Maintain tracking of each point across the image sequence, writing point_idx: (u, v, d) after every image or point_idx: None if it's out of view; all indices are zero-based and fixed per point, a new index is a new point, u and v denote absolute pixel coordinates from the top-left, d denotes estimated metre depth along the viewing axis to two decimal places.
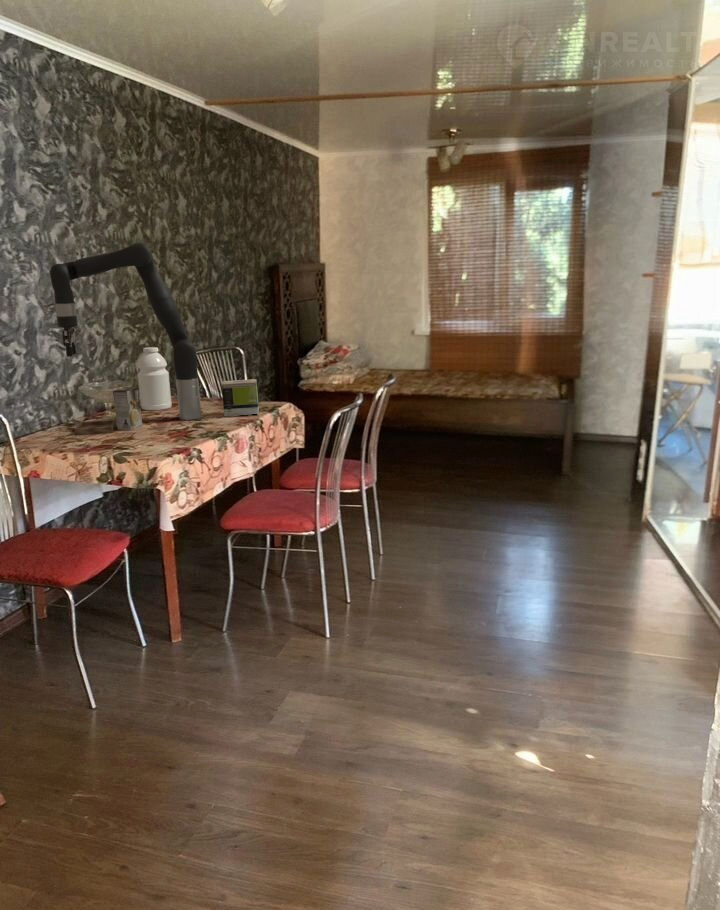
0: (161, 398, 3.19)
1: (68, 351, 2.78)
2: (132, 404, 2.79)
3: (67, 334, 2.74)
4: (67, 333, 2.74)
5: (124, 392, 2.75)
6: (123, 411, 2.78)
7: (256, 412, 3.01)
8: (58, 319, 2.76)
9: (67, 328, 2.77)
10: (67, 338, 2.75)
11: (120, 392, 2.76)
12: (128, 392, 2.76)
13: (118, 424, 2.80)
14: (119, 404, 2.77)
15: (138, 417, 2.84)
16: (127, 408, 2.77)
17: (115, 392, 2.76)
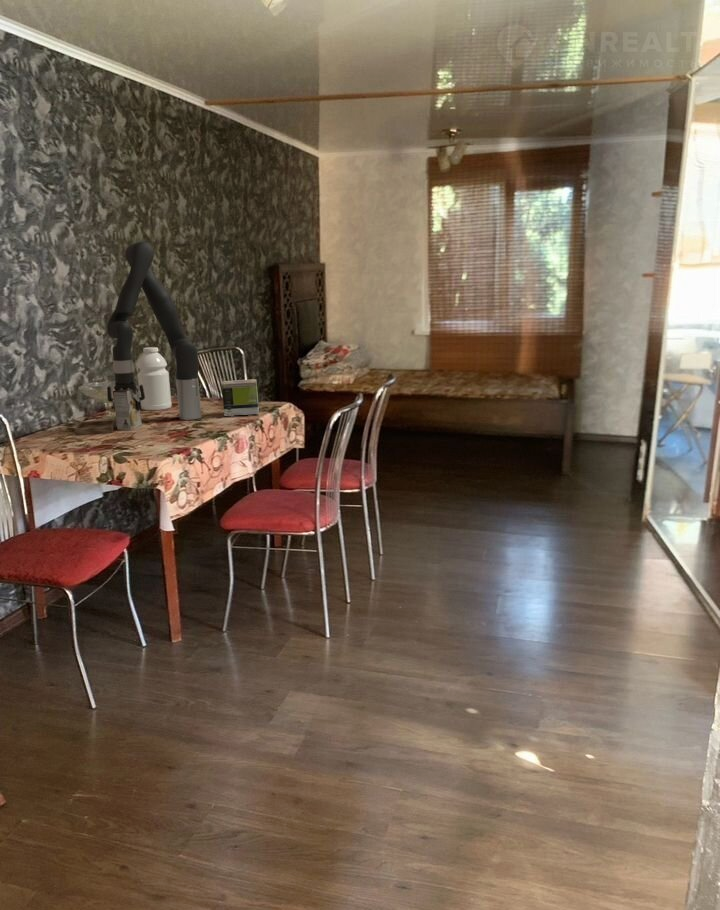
0: (161, 398, 3.19)
1: (140, 405, 2.83)
2: (132, 404, 2.79)
3: (143, 388, 2.82)
4: None
5: (124, 392, 2.75)
6: (123, 411, 2.78)
7: (256, 412, 3.01)
8: (129, 375, 2.76)
9: (134, 383, 2.80)
10: (143, 391, 2.82)
11: (120, 392, 2.76)
12: (128, 392, 2.76)
13: (118, 424, 2.79)
14: (119, 404, 2.77)
15: (138, 417, 2.84)
16: (127, 408, 2.77)
17: (115, 392, 2.76)
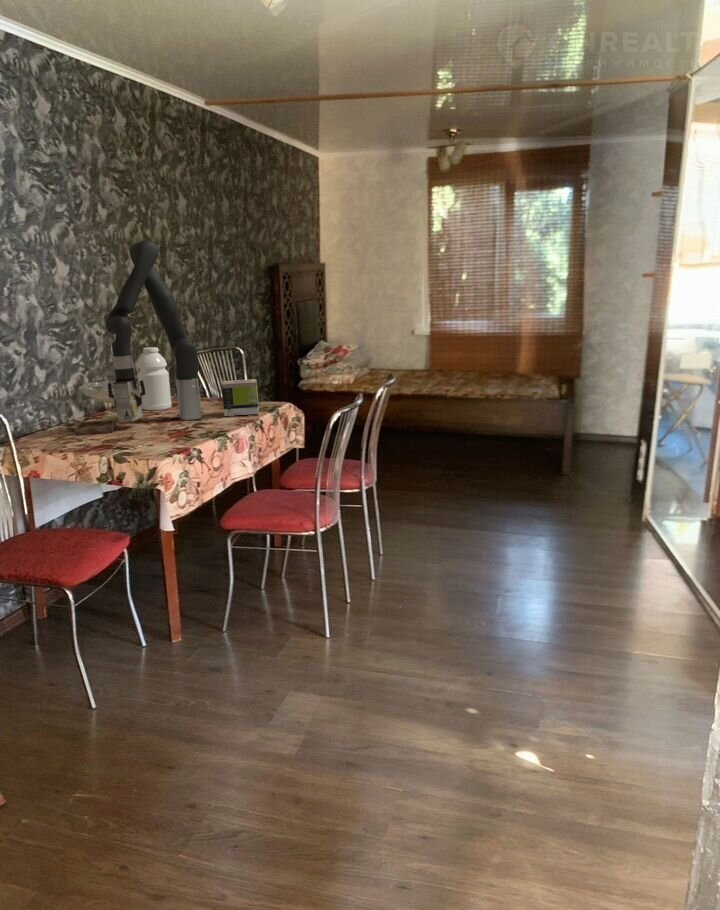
0: (161, 398, 3.19)
1: (141, 400, 2.82)
2: (132, 395, 2.78)
3: (143, 383, 2.81)
4: (143, 382, 2.81)
5: (125, 383, 2.74)
6: (124, 403, 2.77)
7: (256, 412, 3.01)
8: (130, 371, 2.75)
9: None
10: (144, 387, 2.81)
11: (120, 383, 2.75)
12: (128, 383, 2.75)
13: (119, 416, 2.79)
14: (120, 395, 2.76)
15: (139, 408, 2.84)
16: (128, 399, 2.76)
17: (115, 383, 2.75)
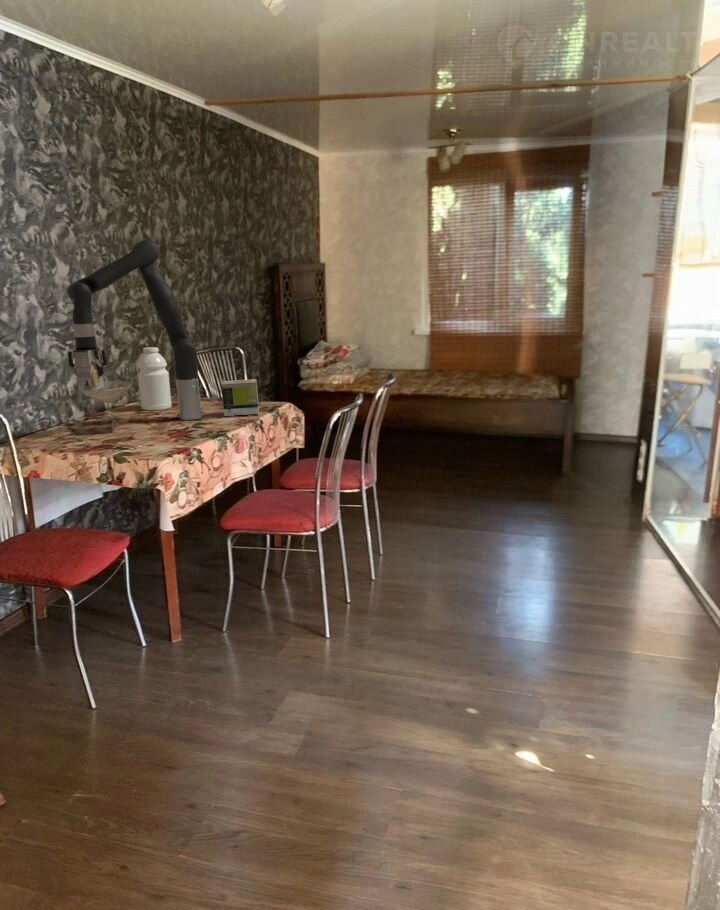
0: (161, 398, 3.19)
1: None
2: (93, 364, 2.71)
3: (105, 353, 2.74)
4: (105, 352, 2.74)
5: (85, 352, 2.67)
6: (84, 372, 2.70)
7: (256, 412, 3.01)
8: (90, 339, 2.69)
9: (96, 347, 2.73)
10: (106, 357, 2.75)
11: (80, 352, 2.68)
12: (89, 352, 2.68)
13: (79, 385, 2.72)
14: (80, 364, 2.69)
15: (100, 378, 2.77)
16: (88, 368, 2.69)
17: (75, 352, 2.68)
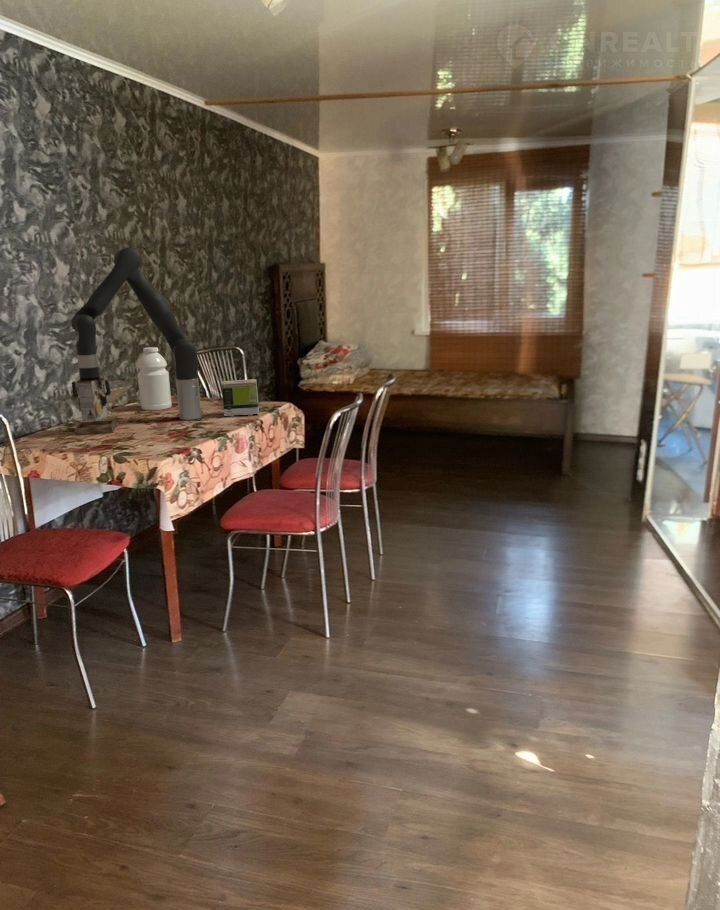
0: (161, 398, 3.19)
1: (106, 400, 2.78)
2: (97, 394, 2.74)
3: None
4: (108, 382, 2.77)
5: (88, 382, 2.71)
6: (88, 402, 2.73)
7: (256, 412, 3.01)
8: (94, 370, 2.72)
9: None
10: (109, 387, 2.78)
11: (84, 382, 2.71)
12: (92, 382, 2.71)
13: (83, 415, 2.75)
14: (83, 394, 2.72)
15: (104, 408, 2.80)
16: (92, 399, 2.72)
17: (79, 382, 2.71)
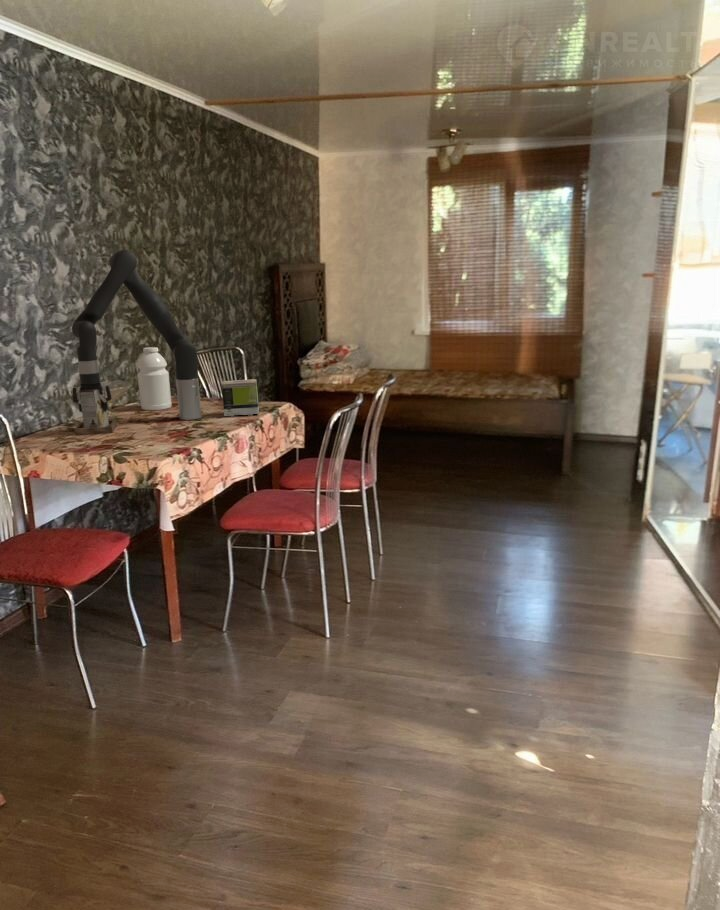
0: (161, 398, 3.19)
1: (107, 405, 2.79)
2: (99, 403, 2.76)
3: (109, 388, 2.78)
4: (109, 387, 2.78)
5: (91, 392, 2.72)
6: (90, 411, 2.74)
7: (256, 412, 3.01)
8: (95, 376, 2.72)
9: (100, 383, 2.77)
10: (110, 392, 2.78)
11: (87, 392, 2.72)
12: (95, 391, 2.73)
13: (85, 424, 2.76)
14: (86, 404, 2.73)
15: (105, 417, 2.81)
16: (95, 408, 2.73)
17: (81, 392, 2.72)
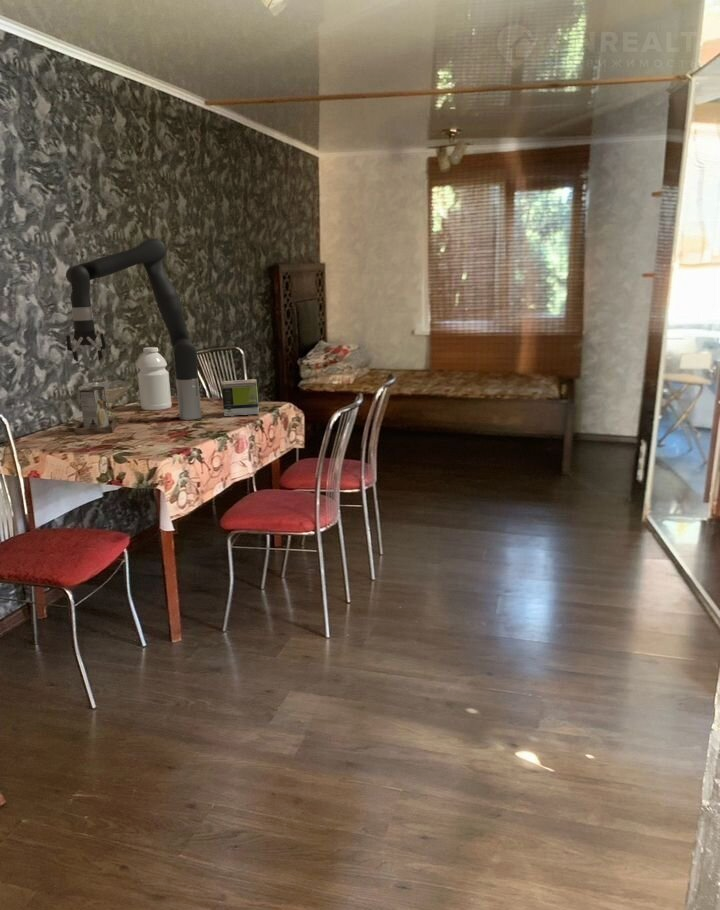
0: (161, 398, 3.19)
1: (101, 354, 2.74)
2: (99, 403, 2.76)
3: None
4: None
5: (91, 392, 2.72)
6: (90, 411, 2.74)
7: (256, 412, 3.01)
8: (89, 323, 2.67)
9: None
10: (104, 340, 2.73)
11: (87, 392, 2.72)
12: (95, 391, 2.73)
13: (85, 424, 2.76)
14: (86, 404, 2.73)
15: (105, 417, 2.81)
16: (95, 408, 2.73)
17: (82, 392, 2.72)
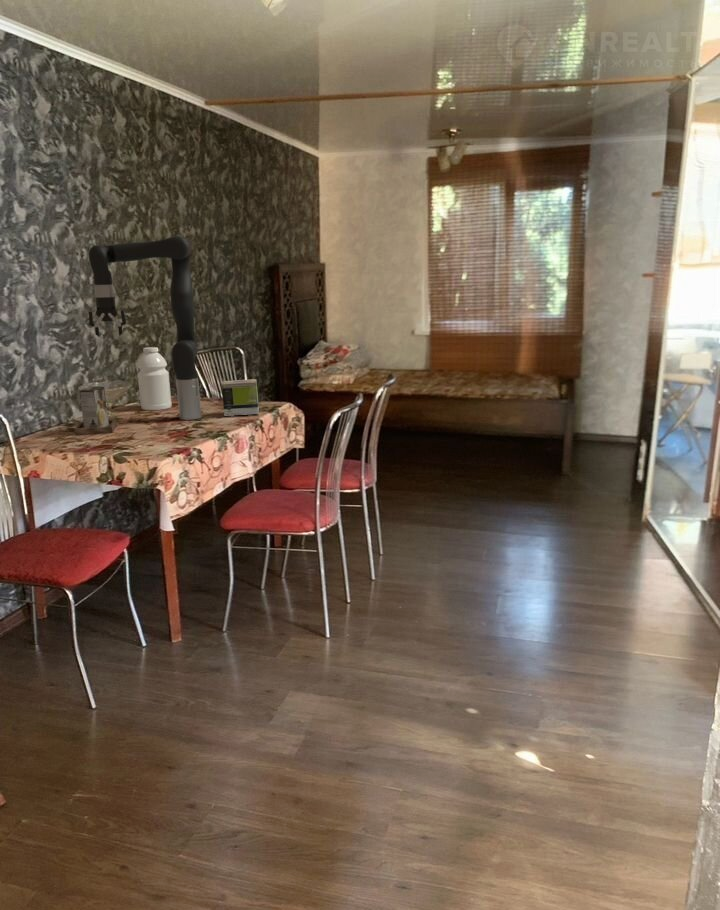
0: (161, 398, 3.19)
1: None
2: (99, 403, 2.76)
3: (124, 313, 2.88)
4: None
5: (91, 392, 2.72)
6: (90, 411, 2.74)
7: (256, 412, 3.01)
8: (110, 300, 2.82)
9: (115, 308, 2.87)
10: None
11: (87, 392, 2.72)
12: (95, 391, 2.73)
13: (85, 424, 2.76)
14: (86, 404, 2.73)
15: (105, 417, 2.81)
16: (95, 408, 2.73)
17: (82, 392, 2.72)
